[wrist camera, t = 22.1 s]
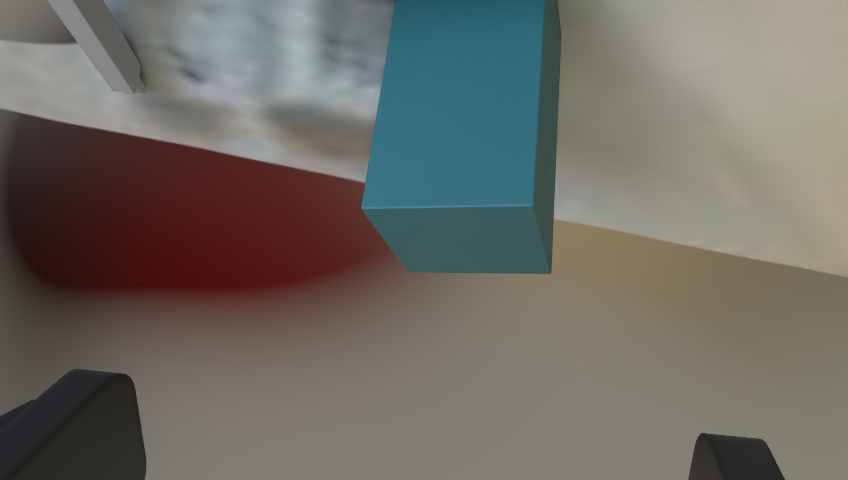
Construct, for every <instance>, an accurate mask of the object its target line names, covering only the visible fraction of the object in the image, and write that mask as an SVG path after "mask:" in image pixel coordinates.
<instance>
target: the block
mask: <svg viewBox="0 0 848 480" xmlns="http://www.w3.org/2000/svg"><path fill="white" fill-rule="evenodd" d="M560 53H561V30H560V22H559V13H558V5H557V0H396V2H395V8H394V14H393V20H392V26H391V32H390V38H389V44H388V50H387V56H386V62H385V68H384V74H383V80H382V86H381V93H380V99H379V105H378V111H377V117H376V123H375V129H374V135H373V141H372V147H371V153H370V159H369V165H368V171H367V177H366V183H365V189H364V195H363V201H362V210H363V212H364V213H365V214H366V216H367V217H368V218H369V220H370V221H371V222H372V224H373V225H374V226H375V228H376V229H377V230H378V232H379V233H380V235H381V236H382V237H383V239H384V240H385V241H386V243H387V244H388V245H389V247H390V248H391V250H392V251H393V252H394V253H395V255H396V256H397V258H398V259H399V260H400V262H401V263H402V264H403V266H404V267H405V268H406V270H407V271H408V272H433V273H435V272H436V273H524V274H525V273H526V274H528V273H530V274H533V273H534V274H550V273H551V268H552V266H551V265H552V244H553V220H554V196H555V172H556V148H557V124H558V100H559V76H560Z"/></svg>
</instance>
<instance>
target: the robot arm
mask: <svg viewBox="0 0 848 480" xmlns="http://www.w3.org/2000/svg"><path fill="white" fill-rule="evenodd" d="M145 475H146V455H145V448H144V442H143V436H142V430H141V423H140V417H139V410H138V404H137V397H136V391H135V387H134V383H133V381H132V379H131V378H130V377H129V376H128V375H126V374H121V373H111V372H101V371H91V370H81V369H75V370H72V371H69V372H68V373H67V374H65V375H64V376H63V377H62V378H60V379H59V380H58V381H57V382H56V383H55V384H54V385H52V386H51V387H50V388H49V389H48V390H46V391H45V392H44V393H43V394H42V395H41V396H39V397H38V398H37V399H36V400H31V401H29V402H27V403H25V404H23V405H21V406H19V407H17V408H15V409H13V410H12V411H10V412H7V413H5V414H4V415H2V416H0V480H145ZM688 480H785V479H784V477H783V475H782V473H781V471H780V469H779V467H778V465H777V463H776V461H775V459H774V457H773V455H772V453H771V451H770V449H769V447H768V445H767V444H766V442H764V440H762V439H756V438H746V437H735V436H725V435H716V434H706V433H702V434H700V435H699V437H698V438H697V441H696V444H695V448H694V453H693V459H692V464H691V469H690V474H689V479H688Z"/></svg>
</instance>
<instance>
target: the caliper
mask: <svg viewBox="0 0 848 480" xmlns="http://www.w3.org/2000/svg"><path fill="white" fill-rule="evenodd" d="M48 2H49V3H50V4H51V6H52V7H53V9H54V10H55V11H56V13H57V14H58V16H59V17H60V18H61V20H62V21H63V23H64V24H65V25H66V27H67V28H68V30H69V31H70V32H71V34H72V35H73V37H74V38H75V39H76V41H77V42H78V44H79V45H80V46H81V48H82V49H83V50H84V52H85V53H86V55H87V56H88V57H89V59H90V60H91V61H92V63H93V64H94V66H95V67H96V68H97V70H98V71H99V73H100V74H101V75H102V77H103V78H104V79H105V81H106V82H107V84H108V85H109V86H110V88H111V89H112V90H113V91H118V92H124V93H129V94H135V92H136V93H141V94H143V93H145V91H146V88H145V85H144V84H143V82H142V80H141V79H140V77H139V75H140V71H141V65H140V63H139V61H138V59H137V58H136V56H135V54H134V52H133V51H132V49H131V47H130V46H129V44H128V42H127V40H126V39H125V37H124V35H123V34H122V32H121V30H120V28H119V27H118V25H117V23H116V22H115V20H114V18H113V16H112V15H111V13H110V11H109V10H108V8H107V6H106V4H105V3H104V1H103V0H48Z"/></svg>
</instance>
